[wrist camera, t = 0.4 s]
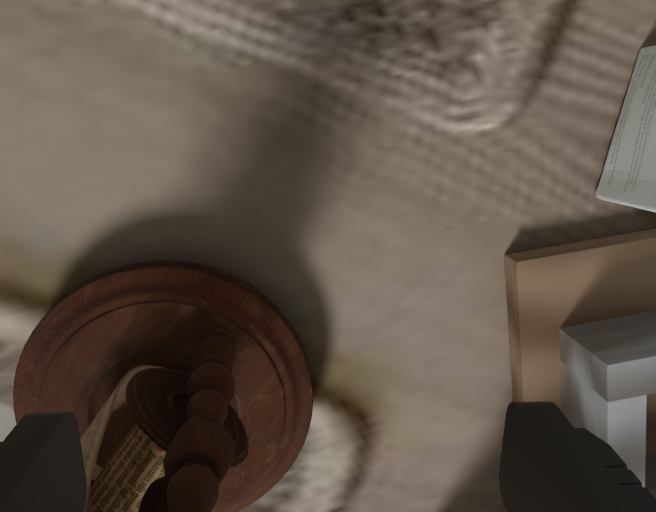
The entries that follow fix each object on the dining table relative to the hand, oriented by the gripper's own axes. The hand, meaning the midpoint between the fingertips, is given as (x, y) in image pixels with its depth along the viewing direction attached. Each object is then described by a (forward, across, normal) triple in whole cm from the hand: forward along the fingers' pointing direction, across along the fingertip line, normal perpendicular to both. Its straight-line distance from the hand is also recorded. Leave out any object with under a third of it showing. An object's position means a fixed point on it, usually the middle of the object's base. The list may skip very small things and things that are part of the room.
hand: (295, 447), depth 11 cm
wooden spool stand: (+19, +7, +10) cm, 22 cm away
